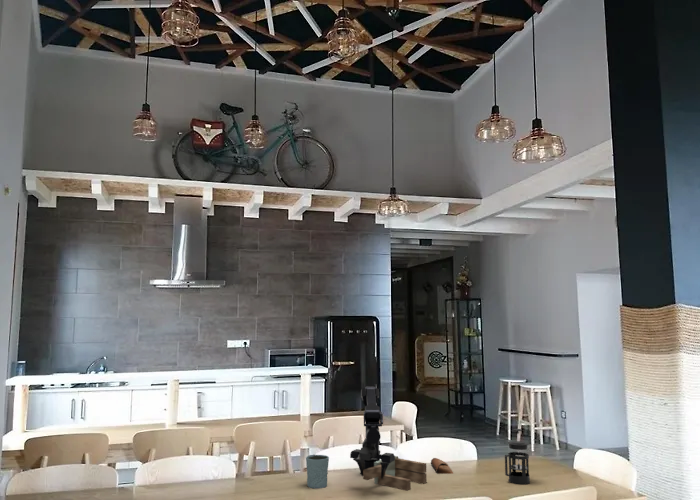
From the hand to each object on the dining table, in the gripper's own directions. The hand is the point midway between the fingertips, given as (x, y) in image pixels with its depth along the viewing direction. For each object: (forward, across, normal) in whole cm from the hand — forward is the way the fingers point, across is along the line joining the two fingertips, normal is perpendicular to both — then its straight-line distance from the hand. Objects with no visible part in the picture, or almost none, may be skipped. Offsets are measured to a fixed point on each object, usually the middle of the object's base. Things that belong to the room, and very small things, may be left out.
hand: (372, 476), depth 237 cm
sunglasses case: (+6, +14, +50) cm, 52 cm away
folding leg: (+1, -1, +5) cm, 5 cm away
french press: (+6, +51, +45) cm, 68 cm away
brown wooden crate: (+6, +6, +17) cm, 19 cm away
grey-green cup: (+6, -24, -5) cm, 26 cm away
